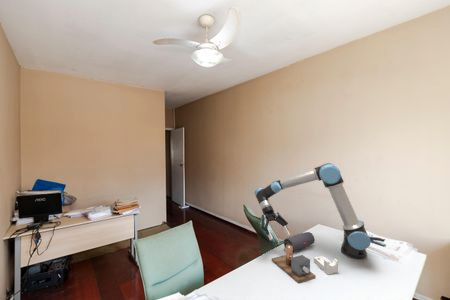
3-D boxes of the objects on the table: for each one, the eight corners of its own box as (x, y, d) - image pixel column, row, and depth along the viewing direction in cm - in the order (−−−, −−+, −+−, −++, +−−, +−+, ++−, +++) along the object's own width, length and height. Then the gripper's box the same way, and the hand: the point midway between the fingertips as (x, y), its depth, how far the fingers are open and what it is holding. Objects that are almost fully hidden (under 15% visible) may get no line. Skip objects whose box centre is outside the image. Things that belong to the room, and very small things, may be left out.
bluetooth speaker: (293, 255, 140) (293, 240, 139) (283, 249, 148) (283, 235, 147) (315, 247, 151) (315, 233, 151) (304, 242, 159) (304, 229, 159)
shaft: (283, 262, 127) (283, 245, 127) (290, 260, 129) (290, 244, 129) (304, 278, 112) (304, 259, 112) (311, 276, 114) (311, 257, 114)
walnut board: (271, 260, 133) (271, 258, 133) (286, 257, 138) (286, 254, 138) (298, 283, 111) (298, 280, 111) (315, 277, 116) (315, 275, 116)
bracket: (338, 274, 120) (338, 261, 120) (326, 275, 119) (326, 262, 119) (323, 261, 133) (324, 250, 132) (313, 262, 131) (313, 250, 131)
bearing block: (291, 271, 119) (291, 257, 119) (302, 268, 122) (302, 254, 122) (298, 277, 114) (299, 263, 113) (310, 274, 117) (310, 259, 117)
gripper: (278, 208, 155) (292, 236, 142) (249, 212, 145) (261, 243, 132) (283, 203, 150) (298, 231, 137) (253, 207, 140) (266, 238, 127)
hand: (280, 237), depth 134 cm, fingers open, 13 cm apart
